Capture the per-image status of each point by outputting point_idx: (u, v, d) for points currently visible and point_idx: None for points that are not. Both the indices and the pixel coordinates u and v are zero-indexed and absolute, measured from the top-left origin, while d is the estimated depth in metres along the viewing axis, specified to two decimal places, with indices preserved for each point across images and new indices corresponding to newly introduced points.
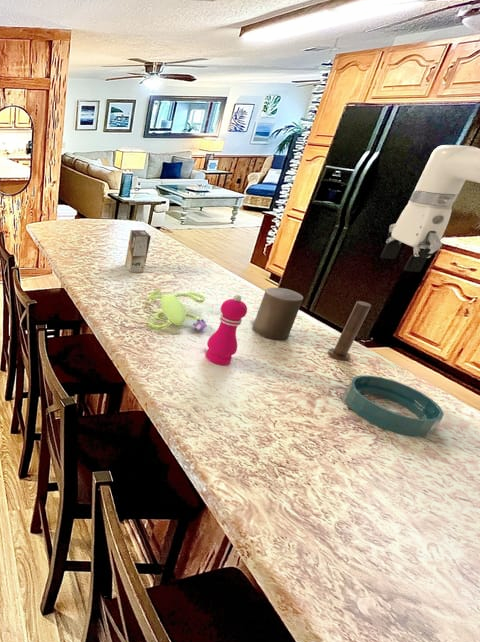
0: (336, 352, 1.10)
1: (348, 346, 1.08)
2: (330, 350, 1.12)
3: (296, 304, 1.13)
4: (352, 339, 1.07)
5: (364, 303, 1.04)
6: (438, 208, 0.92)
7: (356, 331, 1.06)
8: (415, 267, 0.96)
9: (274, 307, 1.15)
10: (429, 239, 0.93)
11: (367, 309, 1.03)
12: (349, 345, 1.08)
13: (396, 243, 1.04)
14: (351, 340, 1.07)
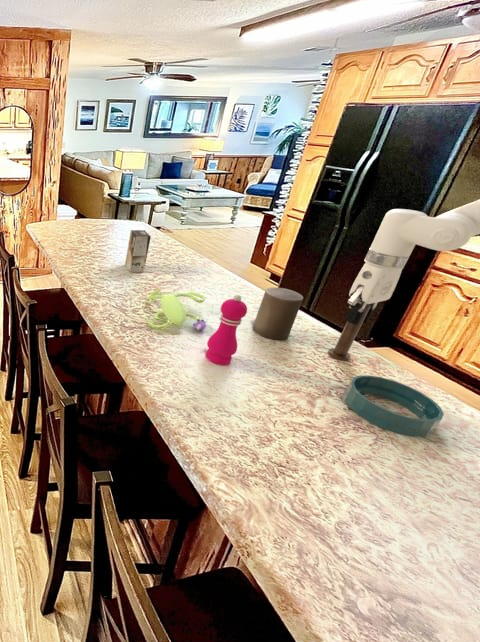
0: (336, 352, 1.10)
1: (348, 346, 1.08)
2: (330, 350, 1.12)
3: (296, 304, 1.13)
4: (352, 339, 1.07)
5: None
6: (370, 265, 0.98)
7: (356, 331, 1.06)
8: (349, 318, 1.05)
9: (274, 307, 1.15)
10: None
11: (367, 309, 1.03)
12: (349, 345, 1.08)
13: None
14: (351, 340, 1.07)
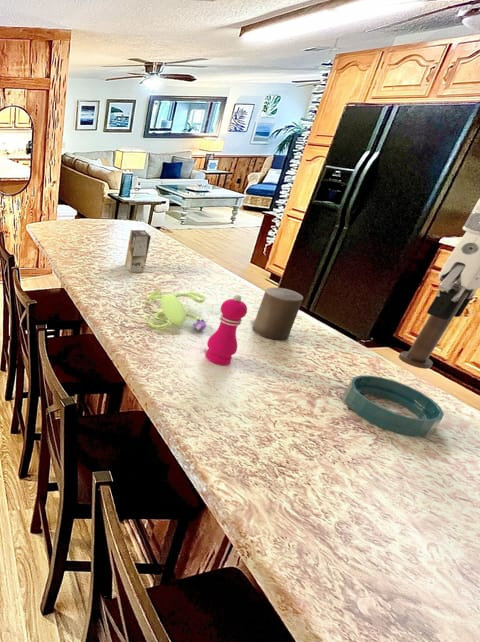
0: (412, 357, 0.81)
1: (431, 349, 0.79)
2: (402, 354, 0.83)
3: (296, 304, 1.13)
4: (437, 339, 0.78)
5: None
6: (476, 234, 0.69)
7: (444, 328, 0.77)
8: (436, 310, 0.76)
9: (274, 307, 1.15)
10: None
11: (463, 297, 0.74)
12: (432, 347, 0.79)
13: None
14: (436, 340, 0.78)
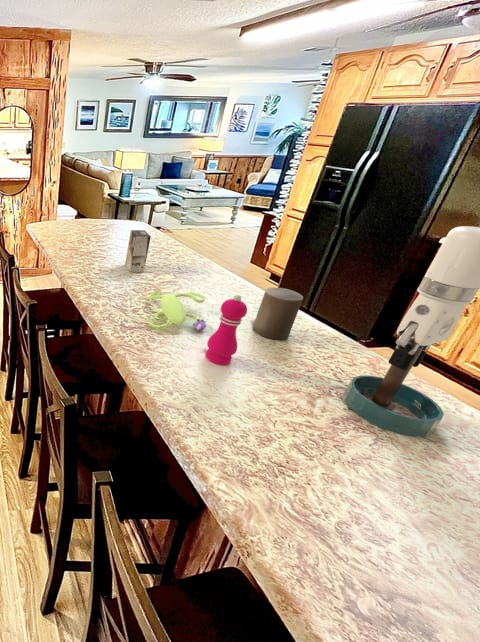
0: (376, 401, 0.89)
1: (392, 394, 0.87)
2: (368, 397, 0.91)
3: (296, 304, 1.13)
4: (398, 386, 0.86)
5: None
6: (427, 297, 0.77)
7: (403, 377, 0.85)
8: (395, 361, 0.84)
9: (274, 307, 1.15)
10: None
11: (419, 351, 0.82)
12: (394, 393, 0.87)
13: None
14: (396, 387, 0.86)
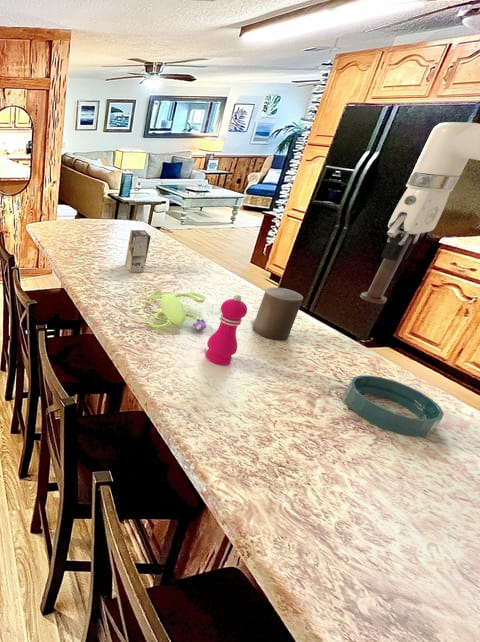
0: (370, 295, 0.99)
1: (384, 287, 0.97)
2: (363, 293, 1.01)
3: (296, 304, 1.13)
4: (389, 278, 0.96)
5: None
6: (414, 188, 0.87)
7: (394, 268, 0.95)
8: (387, 254, 0.94)
9: (274, 307, 1.15)
10: None
11: (408, 242, 0.92)
12: (385, 285, 0.97)
13: None
14: (388, 279, 0.96)
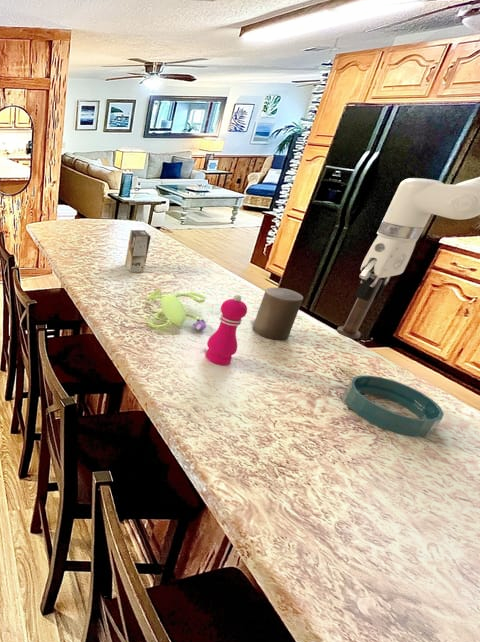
0: (346, 330, 1.07)
1: (358, 323, 1.05)
2: (339, 328, 1.09)
3: (296, 304, 1.13)
4: (362, 316, 1.04)
5: None
6: (383, 237, 0.95)
7: (367, 307, 1.03)
8: (360, 294, 1.02)
9: (274, 307, 1.15)
10: None
11: (379, 284, 1.00)
12: (359, 322, 1.05)
13: None
14: (361, 317, 1.04)
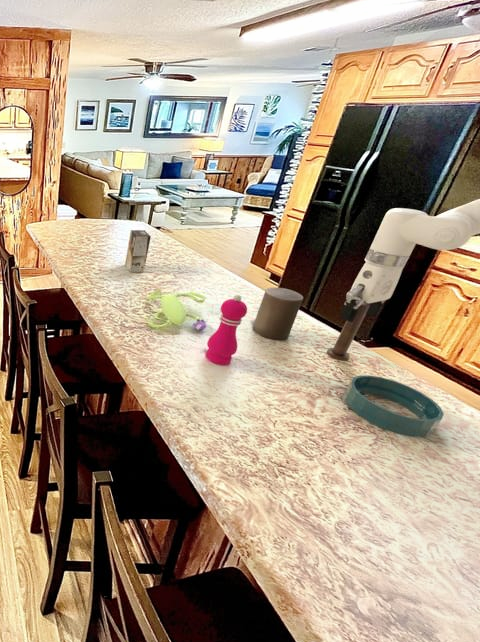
0: (335, 352, 1.10)
1: (347, 346, 1.08)
2: (329, 350, 1.12)
3: (296, 304, 1.13)
4: (351, 339, 1.07)
5: (363, 303, 1.04)
6: (371, 264, 0.98)
7: (355, 330, 1.06)
8: (344, 315, 1.03)
9: (274, 307, 1.15)
10: None
11: (366, 309, 1.03)
12: (348, 345, 1.08)
13: None
14: (350, 340, 1.07)
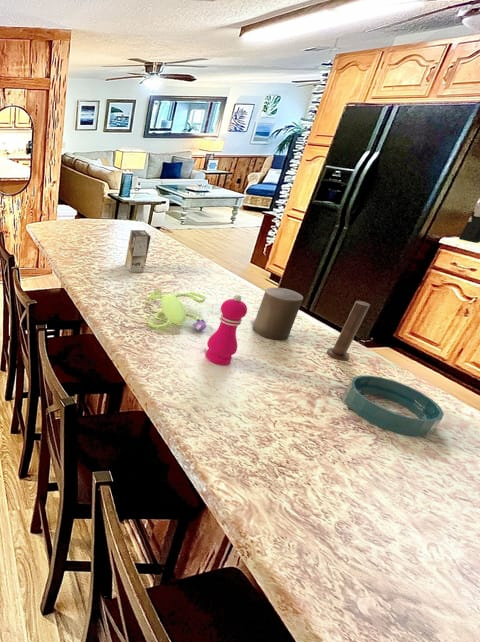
0: (335, 352, 1.10)
1: (347, 346, 1.08)
2: (329, 350, 1.12)
3: (296, 304, 1.13)
4: (351, 339, 1.07)
5: (363, 303, 1.04)
6: None
7: (355, 330, 1.06)
8: (468, 235, 0.84)
9: (274, 307, 1.15)
10: None
11: (366, 309, 1.03)
12: (348, 345, 1.08)
13: None
14: (350, 340, 1.07)
